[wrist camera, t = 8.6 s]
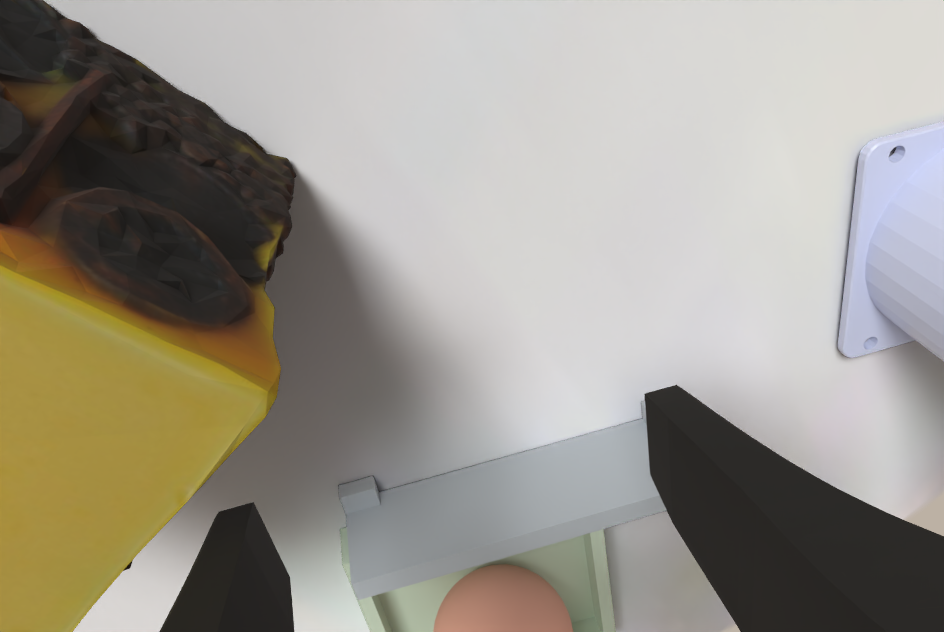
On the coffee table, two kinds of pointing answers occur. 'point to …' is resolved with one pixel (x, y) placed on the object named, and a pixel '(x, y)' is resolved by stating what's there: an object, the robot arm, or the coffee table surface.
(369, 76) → the coffee table surface
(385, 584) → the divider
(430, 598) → the tray
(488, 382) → the coffee table surface
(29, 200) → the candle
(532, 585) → the ball
